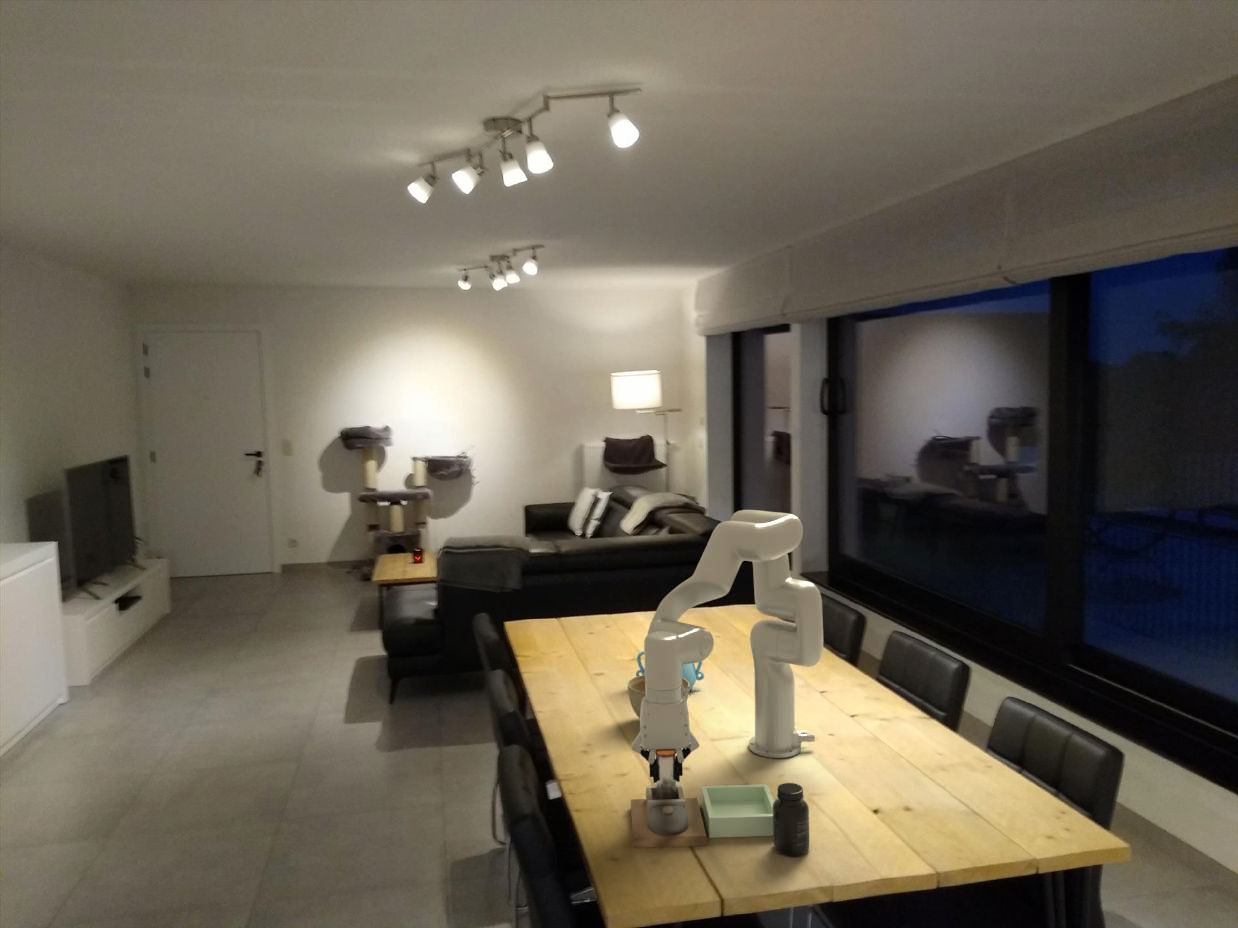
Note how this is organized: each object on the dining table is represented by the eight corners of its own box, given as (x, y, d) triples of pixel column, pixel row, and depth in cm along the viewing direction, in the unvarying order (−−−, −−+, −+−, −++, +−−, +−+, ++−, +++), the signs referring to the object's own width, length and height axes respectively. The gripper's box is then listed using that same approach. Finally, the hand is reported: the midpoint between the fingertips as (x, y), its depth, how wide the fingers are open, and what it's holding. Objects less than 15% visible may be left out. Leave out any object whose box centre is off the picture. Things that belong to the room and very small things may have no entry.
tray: (767, 802, 190) (767, 784, 190) (780, 835, 176) (780, 815, 176) (701, 804, 190) (701, 785, 189) (709, 837, 176) (709, 817, 175)
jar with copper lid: (676, 792, 187) (675, 742, 186) (678, 803, 182) (677, 751, 181) (654, 793, 187) (653, 742, 186) (656, 804, 182) (654, 752, 181)
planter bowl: (685, 737, 226) (685, 695, 225) (622, 733, 229) (622, 691, 228) (693, 713, 242) (692, 674, 241) (634, 710, 245) (633, 671, 244)
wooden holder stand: (697, 806, 189) (696, 781, 188) (706, 845, 173) (705, 818, 172) (630, 808, 188) (630, 783, 188) (633, 847, 173) (633, 820, 172)
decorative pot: (676, 676, 274) (675, 632, 272) (709, 690, 260) (708, 644, 259) (632, 686, 265) (631, 641, 264) (663, 701, 251) (662, 654, 250)
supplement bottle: (804, 838, 175) (804, 779, 174) (813, 857, 168) (813, 795, 167) (769, 840, 174) (769, 780, 173) (776, 858, 168) (776, 796, 167)
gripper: (702, 685, 186) (704, 769, 188) (622, 688, 186) (625, 772, 188) (707, 698, 179) (708, 786, 181) (623, 701, 179) (626, 789, 180)
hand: (666, 778), depth 184 cm, fingers closed on jar with copper lid, 4 cm apart
